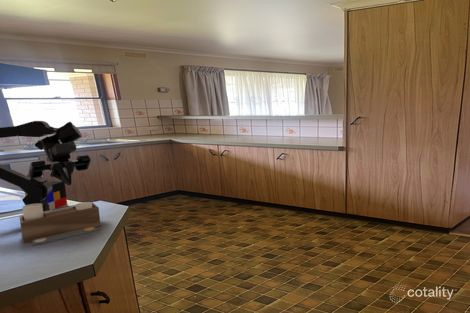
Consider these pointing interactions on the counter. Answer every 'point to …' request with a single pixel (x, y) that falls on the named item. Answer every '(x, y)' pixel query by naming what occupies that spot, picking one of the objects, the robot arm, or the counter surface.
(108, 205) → the counter surface
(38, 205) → the unmarked button
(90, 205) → the beige cylinder
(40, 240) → the pattern card
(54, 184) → the puzzle toy
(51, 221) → the button console
